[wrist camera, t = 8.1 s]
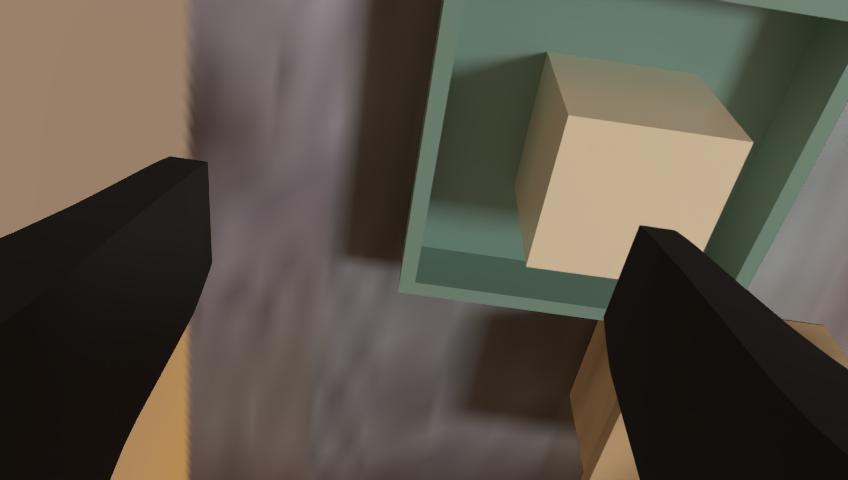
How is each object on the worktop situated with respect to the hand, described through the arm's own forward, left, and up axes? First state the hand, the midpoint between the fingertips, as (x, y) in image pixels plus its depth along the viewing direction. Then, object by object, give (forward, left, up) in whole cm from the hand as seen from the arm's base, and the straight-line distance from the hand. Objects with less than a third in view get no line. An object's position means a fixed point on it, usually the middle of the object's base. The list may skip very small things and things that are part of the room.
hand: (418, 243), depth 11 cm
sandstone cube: (-6, +2, -10) cm, 12 cm away
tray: (-6, +2, -10) cm, 12 cm away
